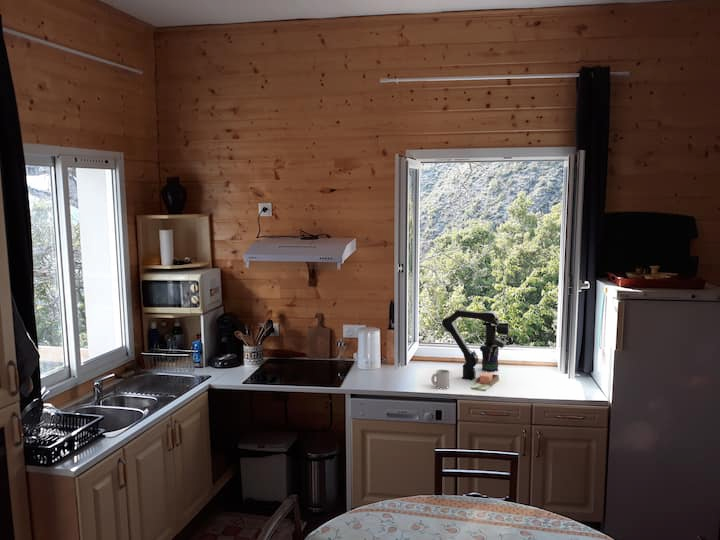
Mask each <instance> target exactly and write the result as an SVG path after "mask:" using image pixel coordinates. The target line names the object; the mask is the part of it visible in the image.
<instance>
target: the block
mask: <svg viewBox="0 0 720 540" xmlns="http://www.w3.org/2000/svg"><path fill="white" fill-rule="evenodd" d="M493 374H494V373H489V372H488V373H487V372H483V373H482V372H481V374H480V375H479V377H480V383H487V384H489V382H490V381H491V380H492V379H493Z"/></svg>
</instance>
